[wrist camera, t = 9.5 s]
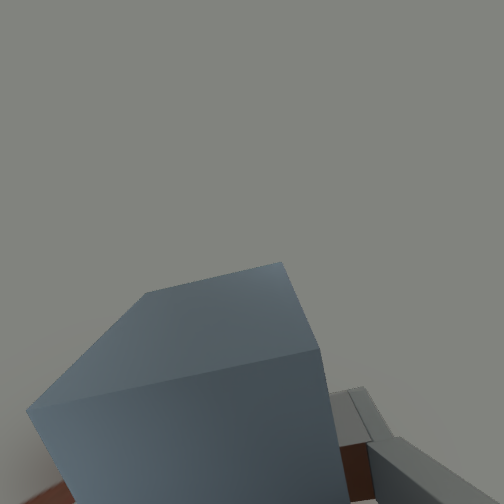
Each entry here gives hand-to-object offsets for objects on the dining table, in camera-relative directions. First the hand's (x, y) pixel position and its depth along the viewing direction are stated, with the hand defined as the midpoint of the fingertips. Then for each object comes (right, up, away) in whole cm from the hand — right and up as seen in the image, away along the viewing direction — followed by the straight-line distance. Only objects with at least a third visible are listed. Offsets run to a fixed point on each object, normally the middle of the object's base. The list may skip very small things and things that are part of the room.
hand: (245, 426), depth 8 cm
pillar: (+1, -5, 0) cm, 6 cm away
